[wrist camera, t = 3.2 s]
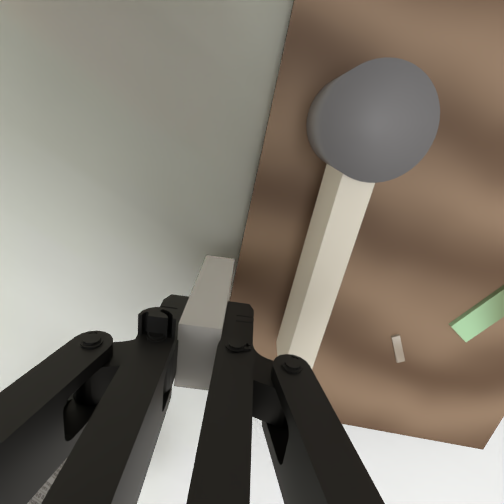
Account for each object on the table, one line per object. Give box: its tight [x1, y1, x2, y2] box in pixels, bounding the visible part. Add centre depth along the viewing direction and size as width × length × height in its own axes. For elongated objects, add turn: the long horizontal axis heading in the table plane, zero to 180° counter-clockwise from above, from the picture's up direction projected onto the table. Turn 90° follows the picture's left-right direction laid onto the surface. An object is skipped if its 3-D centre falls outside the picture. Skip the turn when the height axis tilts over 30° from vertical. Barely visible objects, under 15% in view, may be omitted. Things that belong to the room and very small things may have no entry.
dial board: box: [230, 0, 504, 449], centre depth 20 cm, size 28×20×2 cm
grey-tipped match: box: [276, 57, 440, 369], centre depth 17 cm, size 15×4×4 cm, turn 168°
